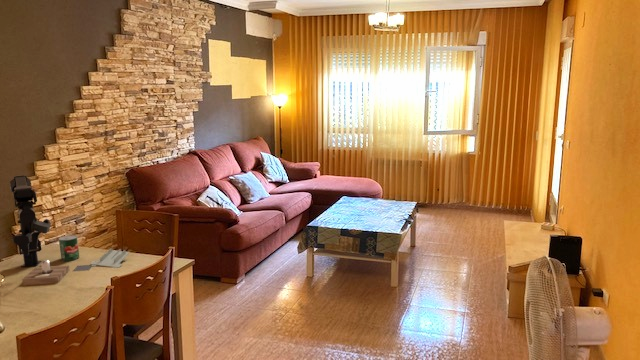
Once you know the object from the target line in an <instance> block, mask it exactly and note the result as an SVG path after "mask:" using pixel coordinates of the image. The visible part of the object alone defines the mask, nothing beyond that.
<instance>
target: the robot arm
mask: <svg viewBox="0 0 640 360" xmlns="http://www.w3.org/2000/svg"><path fill="white" fill-rule="evenodd" d="M9 186H10V187H9V188H10V193H12V196H13V201H14V202H13V203H14V208H17V212H18V220H17V224H19V228H20V229H19V230H18V233H17V234H15V235H14V236H13V237H12V244H15V245H16V246H17V247H18V253H19V256H20V255H22V256H23V264H22V265H21V268H26V267H27V268H28V267H38V265H39V264H41V261H42V260H39V258H38V252H41V251H42V241H40V239H39V237H40V235H41V234H48V233H49V232H50V229H51V227H52V224H51V221H50V219H47V218H45V219H44V220H41V221H40V220H38V218H37V216H36V212H35V209H34V205H37V202H38V198H37V194H36V193H37V192H36V191H35V190H34V189H32V181H31V179H30V178H28V177H27V175H25V174H21V175H15V176H13V178H12V179H11V180H10V181H9Z"/></svg>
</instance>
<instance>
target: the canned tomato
mask: <svg viewBox="0 0 640 360" xmlns="http://www.w3.org/2000/svg"><path fill="white" fill-rule="evenodd" d="M58 241H59V242H58V243H59V249H60V258H61V261H62V262H72V261H76V260H79V259H80V251H79V250H80V249H79V243H78V241H79V240H78V235H76V234H75V235H74V234H68V235H64V236H63V235H62V236H60V237H59V238H58Z"/></svg>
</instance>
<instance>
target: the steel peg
mask: <svg viewBox="0 0 640 360" xmlns="http://www.w3.org/2000/svg"><path fill="white" fill-rule="evenodd" d="M40 261H41V262H40V265H41V266H40V267H42V274H50V273H51V270H50V266H51V263H50V260H49V259H44V260H43V259H42V260H40Z"/></svg>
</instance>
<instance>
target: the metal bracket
mask: <svg viewBox="0 0 640 360" xmlns="http://www.w3.org/2000/svg"><path fill="white" fill-rule="evenodd" d="M130 253H131V252H130V251H126V249H124V250H123V251H122V248H119V249H118V250H115V249H113V248H109V250H108V251H107V252H105V253H103V254H102V255H101V257H100V258H99V259H98V260H92V261H91V262H90V264H89V265H92V267H94V268H95V267H97V266H99V267H108V268H114V269H120V268H121V267H122V266H123V263H121V262H123V260H124V259H126V257H127V256H128V255H129V254H130Z"/></svg>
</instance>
